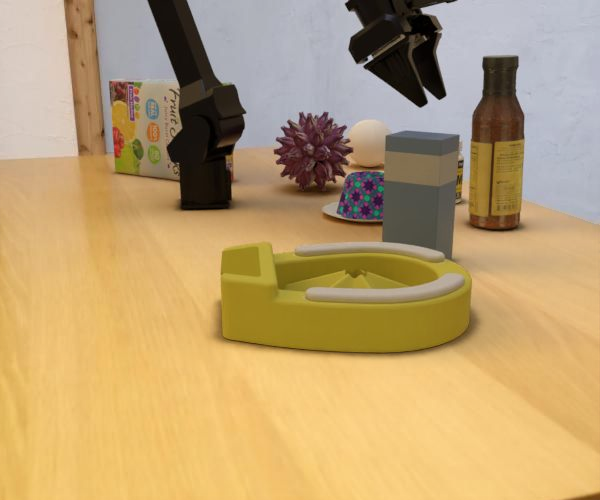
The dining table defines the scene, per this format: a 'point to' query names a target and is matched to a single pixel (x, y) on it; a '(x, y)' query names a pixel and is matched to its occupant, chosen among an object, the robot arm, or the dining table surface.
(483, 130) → the sauce bottle
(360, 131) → the ball
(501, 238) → the dining table surface
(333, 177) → the flower
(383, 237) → the block
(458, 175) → the supplement bottle
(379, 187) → the pudding
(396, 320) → the yellow curved tray
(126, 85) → the snack box
